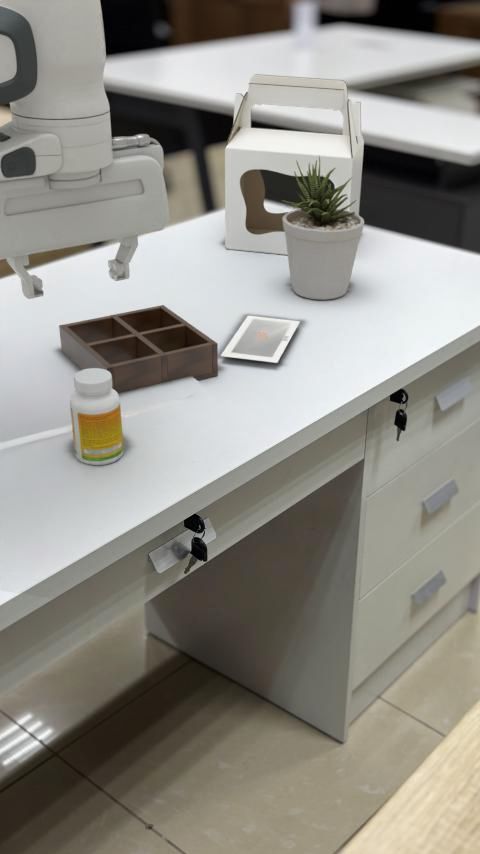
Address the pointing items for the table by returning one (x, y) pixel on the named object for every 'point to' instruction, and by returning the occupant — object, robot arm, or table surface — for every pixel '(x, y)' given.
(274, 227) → the gable box
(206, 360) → the grid
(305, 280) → the potted plant
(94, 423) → the supplement bottle
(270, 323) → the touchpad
